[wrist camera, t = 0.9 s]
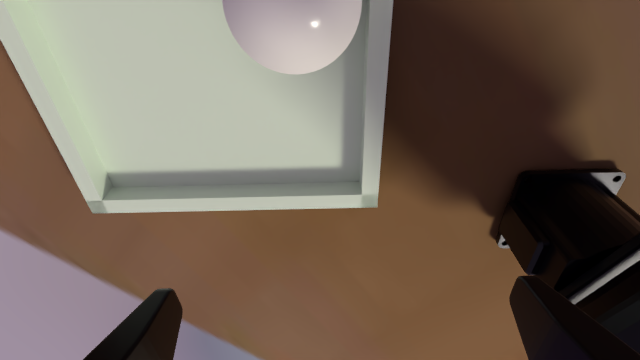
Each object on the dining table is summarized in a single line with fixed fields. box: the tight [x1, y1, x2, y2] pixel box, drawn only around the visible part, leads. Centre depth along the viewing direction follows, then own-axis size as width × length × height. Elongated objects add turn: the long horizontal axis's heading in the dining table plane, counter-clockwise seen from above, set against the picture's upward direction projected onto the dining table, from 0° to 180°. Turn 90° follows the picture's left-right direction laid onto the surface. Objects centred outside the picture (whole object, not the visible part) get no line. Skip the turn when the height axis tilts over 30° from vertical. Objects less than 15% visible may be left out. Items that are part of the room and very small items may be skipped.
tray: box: [0, 0, 393, 213], centre depth 18 cm, size 18×16×2 cm
